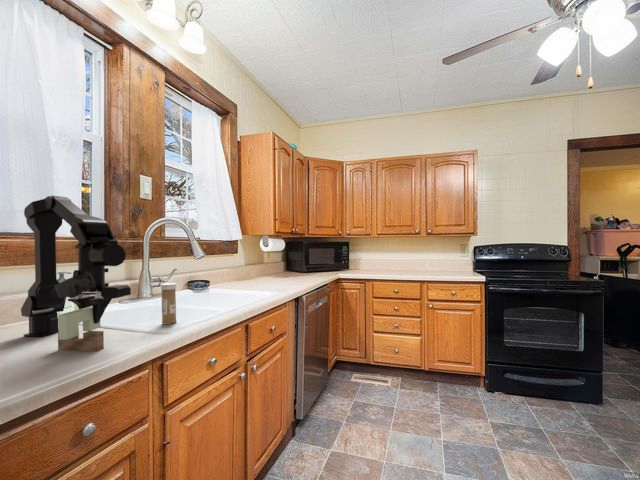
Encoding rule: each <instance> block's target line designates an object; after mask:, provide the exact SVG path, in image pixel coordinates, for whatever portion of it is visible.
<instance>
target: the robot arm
mask: <svg viewBox="0 0 640 480" xmlns="http://www.w3.org/2000/svg"><path fill="white" fill-rule="evenodd" d="M23 213H24V217H25V219H26V220H25V221H26V225H27V226H28V227H29V229H30V230H31V231H32V232H33V233H34V270H35V271H34V272H35V273H34V275H35V276H34V278H35V280H34V282H33V283H32V285H31V286H30V287H29V289H28V290H27V291H28V292H27V297H26V299H25V301H24V302H23V304H22V306H21V308H20V312H21V316H22V317H25V318H28V333H24V334H23V337H36V338H40V337H42V338H43V337H45V336H48V335H52V334H56V333H59V329H58V313H59V312H64V309H65V306H66V301H68V302H71V303H73V304H75V305H76V306H77V308H78V310H79V309H82V308H86V307H90V306H93V320H94V324H96V323H99V321H100V322H101V318H102V317H103V315H104V313H105V311H106V309H107V307H108V305H110V303H111V301H112V300H113V299H119V298H122V297H126V296H131V295H132V294H131V293H132V292H131V291H132V289H131V287H130V285H128V284H113V285H109V284H110V283H109V282H106V273H109V268H108V267H117V266H120V265H122V264H123V263H124V261H125V259H126V258H127V257H126V255H127V252H126V251H125V248H124V247H123V246H121V245H119V243H118V239H117V238H116V235H114V233H113V231H112V230H111V227H110V226H109V224H108V222H107V221H106V220H104V219H103V218H100V217H96V216H93V215H90V214H88V213H86V212H85V211H84V210H82V209H81V208H80V207H79V206H77V205H76V204H75V203H74V202H72V200H71V198H68V197H67V196H59V195H48V196H46V197H45V198H43V199H42V198H41V199H39V200H38V199H37V200H34V201H31V203H29V204H28V205H26V206H25V208H24V211H23ZM63 221H65V222H66V223H67V224H68V225H70V227H71V228H70V230H69V232H70V233H71V235H72V236H73V237H74V239H75V240H76V241H78V243H77V244H75V246H74V249H75V250H77V252H78V253H77V255H78V256H77V265H78V266H77V267H78V269H76V270H73V272H72V277H69V278H67V279H65V280H63V281H61V282H59V281H58V280H57V279H58V278H57V242H56V241H57V240H56V238H57V237H56V234H57V231H58V230H59V229H60V228H61V226H62V225H63ZM105 267H107V268H105ZM67 298H68V299H67Z"/></svg>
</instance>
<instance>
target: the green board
mask: <svg viewBox="0 0 640 480" xmlns="http://www.w3.org/2000/svg"><path fill="white" fill-rule="evenodd" d="M57 317H58V329H59V332H58V333H59V340H67V339H70V338H73V337H75V336H78V335H79V336H80V327H79V324H81V323H82V331H83V332H88V331H96V329H100V328H101V326H102V325H101V320H100V321H99V323H96V324H94V320H93V306H90V307H86V308H82V309H79V308H78V309H76V310H72V311H68V312H64V313H61V314H57Z"/></svg>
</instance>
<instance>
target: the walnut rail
mask: <svg viewBox="0 0 640 480" xmlns="http://www.w3.org/2000/svg"><path fill="white" fill-rule="evenodd" d="M104 337H105V336H104V330H92V331H84V332H83V333H82V338H81V337H80V334H79V335H78V336H75V337H73V338H70V339H67V340H59V332H57V351H71V352H72V351H75V352H76V351H77V352H79V351H80V352H99V351H101V350H103V349H104V347H105V346H104V345H105V343H104V340H105V339H104Z"/></svg>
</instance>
